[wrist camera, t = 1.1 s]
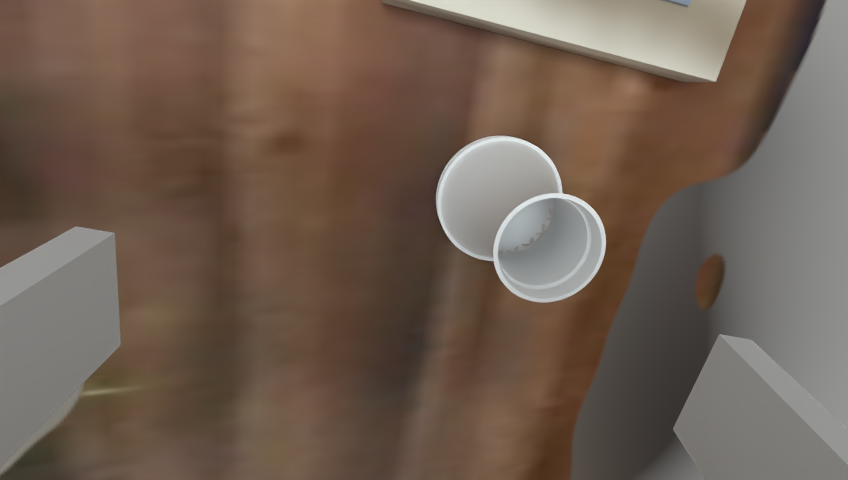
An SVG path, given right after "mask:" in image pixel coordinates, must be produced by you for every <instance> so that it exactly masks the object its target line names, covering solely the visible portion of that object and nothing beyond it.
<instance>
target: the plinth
mask: <svg viewBox="0 0 848 480" xmlns="http://www.w3.org/2000/svg"><path fill="white" fill-rule="evenodd" d="M745 2H746V0H382V3H385V4H389V5H392V6H396V7H400V8H404V9H408V10H411V11H415V12H419V13H423V14H427V15H430V16H434V17H438V18H442V19H446V20H449V21H453V22H457V23H461V24H465V25H468V26H472V27H476V28H480V29H484V30H487V31H491V32H495V33H499V34H503V35H506V36H510V37H514V38H518V39H522V40H525V41H529V42H533V43H537V44H541V45H544V46H548V47H552V48H556V49H560V50H563V51H567V52H571V53H575V54H579V55H582V56H586V57H590V58H594V59H598V60H601V61H605V62H609V63H613V64H617V65H620V66H624V67H628V68H632V69H636V70H639V71H643V72H647V73H651V74H655V75H658V76H662V77H666V78H670V79H674V80H677V81H681V82H716V80H717V77H718V74H719V72H720V69H721V66H722V64H723V61H724V58H725V56H726V53H727V50H728V48H729V45H730V42H731V40H732V37H733V34H734V32H735V29H736V26H737V24H738V21H739V18H740V16H741V13H742V10H743V8H744V5H745Z"/></svg>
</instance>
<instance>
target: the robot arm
mask: <svg viewBox="0 0 848 480" xmlns="http://www.w3.org/2000/svg"><path fill="white" fill-rule="evenodd" d="M120 345H121V340H120V322H119V304H118V286H117V268H116V250H115V233H112V232H106V231H100V230H94V229H88V228H82V227H74V228H72V229H70V230H69V231H67V232H65V233H63V234H61V235H59V236H58V237H56V238H54V239H52V240H50V241H49V242H47V243H45V244H43V245H41V246H39V247H38V248H36V249H34V250H32V251H30V252H29V253H27V254H25V255H23V256H21V257H19V258H18V259H16V260H14V261H12V262H10V263H8V264H7V265H5V266H3V267H1V268H0V467H1V466H2V465H3V464H4V463H5V462H6V461H7V460H8V459H9V458H10V457H11V456H12V455H13V454H14V453H15V452H16V451H17V450H18V449H19V448H20V447H21V446H22V445H23V444H24V443H25V442H26V441H27V440H28V439H29V438H30V436H32V435H33V434H34V433H35V432H36V431H37V430H38V428H39V427H41V426H42V425H43V423H44V422H45V421H46V420H47V419H48V418H49V417H50V416H51V415H52V414H53V413H54V412H55V411H56V410H57V409H58V408H59V407H60V406H61V405H62V404H63V403H64V402H65V401H66V400H67V399H68V398H69V397H70V396H71V395H72V394H73V393H74V392H75V391H76V390H77V389H78V388H79V387H80V386H81V385H82V384H83V383H84V382H85V381H86V380H87V379H88V378H89V377H90V376H91V375H92V374H93V373H94V372H95V371H96V369H97V368H98V367H99V366H100V365H101V364H102V363H103V362H104V361H105V360H106V359H107V358H108V357H109V356H110V355H111V354H112V353H113V352H114V351H115V350H116V349H117V348H118V347H119V346H120ZM673 430H674V431H675V433H676V434H677V436H678V438H679V439H680V441H681V442H682V444H683V446H684V447H685V449H686V450H687V452H688V453H689V455H690V457H691V458H692V460H693V461H694V463H695V464H696V466H697V468H698V470H699V471H700V473H701V474H702V476H703V477H704V479H705V480H848V429H847V428H845V427H844V426H843V425H842V424H841V423H840V422H839V421H838V420H837V419H836V418H835V417H834V416H833V415H832V414H830V413H829V412H828V411H827V410H826V409H825V408H824V407H823V406H822V405H821V404H820V403H819V402H817V400H815V399H814V398H813V397H812V396H811V395H810V394H809V393H808V392H807V391H806V390H805V389H804V388H803V387H802V386H800V385H799V384H798V383H797V382H796V381H795V380H794V379H793V378H792V377H791V376H790V375H789V374H788V373H786V372H785V371H784V370H783V369H782V368H781V367H780V366H779V365H778V364H777V363H776V362H775V361H774V360H773V359H771V358H770V357H769V356H768V355H767V354H766V353H765V352H764V351H763V350H762V349H761V348H760V347H759V346H758V345H756V344H755V343H754V342H753V341H752V340H750V339H743V338H738V337H731V336H725V335H719V336H718V338H717V340H716V342H715V344H714V346H713V348H712V350H711V352H710V355H709V356H708V358H707V360H706V363H705V364H704V367H703V369H702V371H701V373H700V375H699V377H698V379H697V381H696V383H695V385H694V387H693V389H692V391H691V393H690V395H689V397H688V399H687V401H686V404H685V405H684V407H683V410H682V411H681V414H680V416H679V418H678V420H677V422H676V424H675V426H674V428H673Z"/></svg>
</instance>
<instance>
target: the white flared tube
mask: <svg viewBox="0 0 848 480" xmlns="http://www.w3.org/2000/svg"><path fill="white" fill-rule="evenodd" d="M436 209H437V214H438V217H439V220H440V223H441V225H442V227H443V230H444V231H445V233H446V235H447V236H448V238H449V239H450V240H451V241H452V243H453V244H454V245H455V246H456V247H458V248H459V249H460V250H461V251H463V252H465V253H466V254H468V255H470V256H472V257H475V258H478V259H481V260H487V261H494V265H495V269H496V272H497V274H498V276H499V278H500V280H501V281H502V282H503V284H504V285H505V286H506V287H507V288H508V289H509V290H510V291H511V292H513V293H514V294H515V295H517V296H519V297H521V298H523V299H526V300H529V301H534V302H553V301H558V300H562V299H565V298H567V297H569V296H571V295H573V294H575V293H577V292H578V291H580V290H581V289H582V288H584V287H585V286H586V285H587V284H588V283H589V282H590V281H591V280H592V278H593V277H594V276H595V274H596V273H597V271H598V269H599V268H600V266H601V263H602V261H603V258H604V254H605V248H606V236H605V230H604V227H603V224H602V222H601V219H600V218H599V216H598V214H597V213H596V212H595V210H594V209H593V208H592V207H591V206H590V205H588V204H587V203H586V202H584V201H583V200H581V199H579V198H577V197H574V196H571V195H568V194H562V185H561V180H560V176H559V174H558V171H557V169H556V167H555V165H554V164H553V162H552V161H551V159H550V158H549V157H548V156H547V155H546V154H545V153H544V152H543V151H542V150H541V149H539V148H538V147H536V146H535V145H533V144H531V143H529V142H527V141H524V140H522V139H519V138H516V137H511V136H490V137H485V138H482V139H478V140H476V141H474V142H472V143H470V144H468V145H466V146H465V147H463V148H462V149H461V150H460V151H458V152H457V153H456V154H455V155H454V156H453V157H452V158H451V160H450V161H449V162H448V164H447V165H446V166H445V168H444V170H443V172H442V174H441V176H440V179H439V182H438V186H437V191H436ZM541 235H542V236H541ZM540 236H541V237H540ZM539 237H540V238H539ZM538 238H539V239H538ZM537 239H538V240H537ZM536 240H537V241H536ZM591 240H592V241H591ZM560 283H561V284H560Z"/></svg>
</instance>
